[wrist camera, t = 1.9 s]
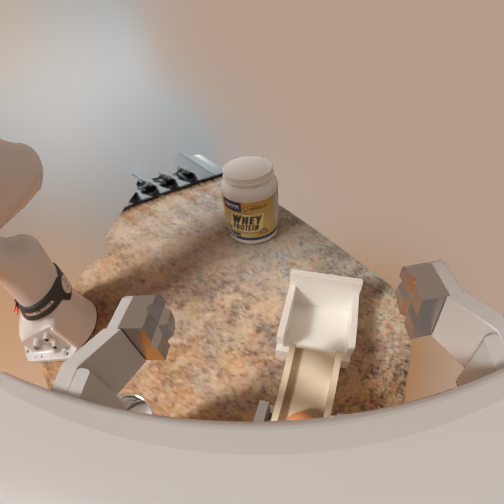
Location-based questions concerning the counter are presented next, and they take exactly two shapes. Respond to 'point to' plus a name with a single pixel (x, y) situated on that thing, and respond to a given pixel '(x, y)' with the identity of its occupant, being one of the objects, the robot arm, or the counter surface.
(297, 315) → the cream open-top tray
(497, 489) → the robot arm
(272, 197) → the supplement tub
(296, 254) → the counter surface
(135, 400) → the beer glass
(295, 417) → the ball
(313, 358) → the lever
